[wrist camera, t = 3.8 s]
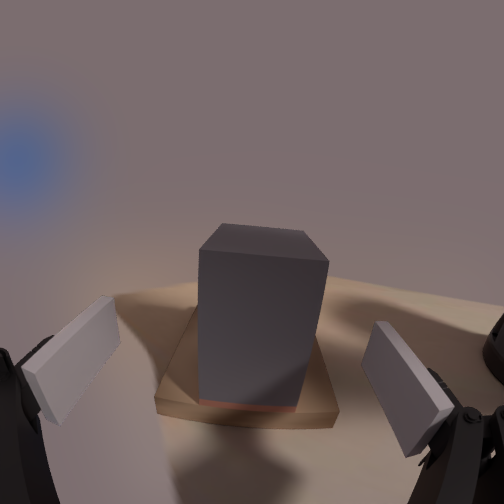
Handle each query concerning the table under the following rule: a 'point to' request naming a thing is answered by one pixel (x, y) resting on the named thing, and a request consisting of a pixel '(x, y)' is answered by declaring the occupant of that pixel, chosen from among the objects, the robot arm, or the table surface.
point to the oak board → (187, 407)
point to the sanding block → (257, 316)
